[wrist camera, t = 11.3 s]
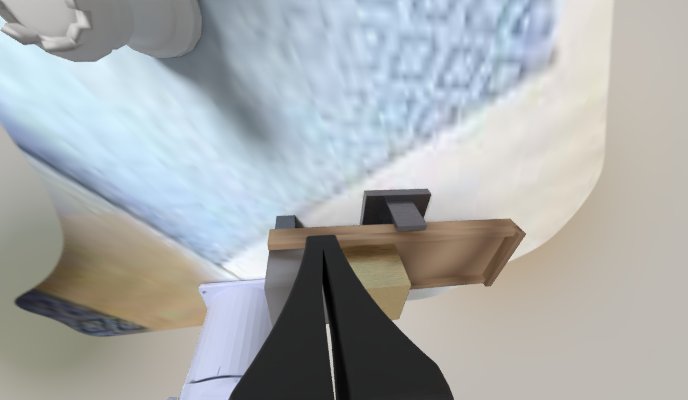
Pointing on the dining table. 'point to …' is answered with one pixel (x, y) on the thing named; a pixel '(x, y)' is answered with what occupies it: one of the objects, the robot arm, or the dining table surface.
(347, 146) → the dining table surface
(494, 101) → the dining table surface
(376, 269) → the block
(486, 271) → the balance beam
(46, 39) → the rook chess piece
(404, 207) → the beam stand
